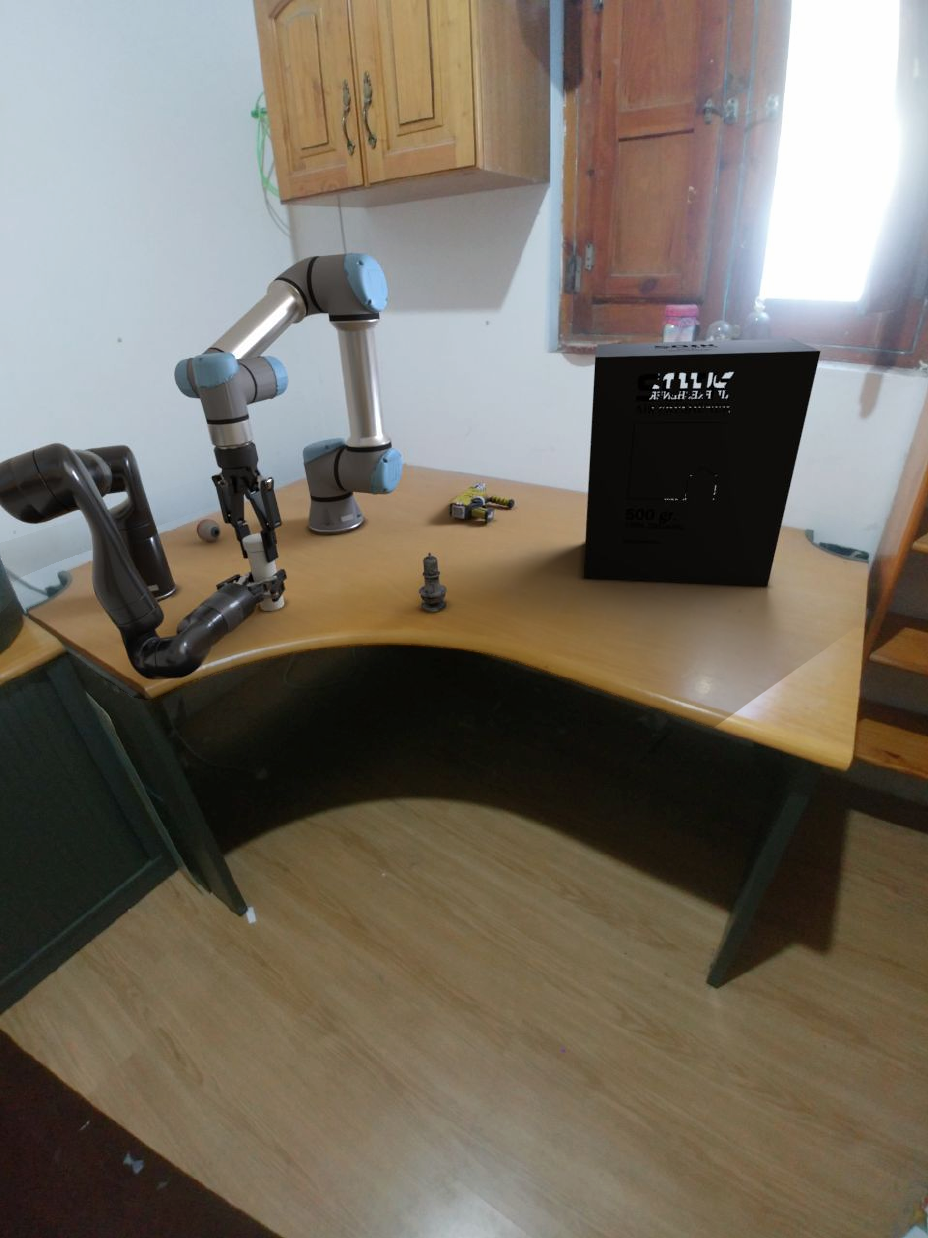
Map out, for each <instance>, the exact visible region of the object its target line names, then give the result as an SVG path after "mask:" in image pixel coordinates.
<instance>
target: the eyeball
mask: <svg viewBox="0 0 928 1238" xmlns="http://www.w3.org/2000/svg"><path fill="white" fill-rule="evenodd" d="M196 534H197V536H198V538H199V539H201V540H202V541H204V542H208V543H209V542H211V543H212V542H215V541H216V540H218V539H219V538H220V536H221V534H222V529H221V526H220V524H219V523H218V522H217V521H216V520H214V519H211V518H206V519H203V520H200V521H199V522H198V524H197V526H196Z"/></svg>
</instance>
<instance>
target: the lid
mask: <svg viewBox="0 0 928 1238" xmlns="http://www.w3.org/2000/svg"><path fill="white" fill-rule="evenodd" d="M250 534H251V535H248V536H246V537H245V538H243V540H242V541H243V546H244V550H246V551H248V552H258V551H263V550H264V547H263V543H262V539H261V534H260V532H256V533H250Z"/></svg>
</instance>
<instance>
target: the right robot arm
mask: <svg viewBox="0 0 928 1238" xmlns="http://www.w3.org/2000/svg"><path fill="white" fill-rule="evenodd" d="M377 261H378V260H376V258H374V257H373V256H372V255H370V254H368V253H363V252H361V253H359V252H349V253H348V252H347V253H340V254H338V253H337V254H327V255H313V256H308V257H305V258H303V259H301V260H299V261H297V262H296V263H293V265H291V266H290V267H288V268H287V269H285V270H284V271H283V272H282V273H280V274H279V275H277V276H276V277H275V278H274V279H273V281H271V282H270V283H269V284H268V286H267V288H266V294H265V295H264V296H263V297H261V299H260V300H258V301H257V302H256V303H255V304H254V305H253V306H252V307H251V308H250V309H249V310H247V312H246V313H244V315H242V317H240V318H239V319H238V320H237V321H236V322H235V323H234V324H233V325H232V326H230V327H229V328H228V329H227V330H226V331H225V332H224V333H223V334H222V335H221V336H220V337H219V338H218V339H217V340H215V341H214V343H212V344H211V345H210V346H209V347H208V348H207V349H206V350H205V351H203V353H200V354H199V355H198V354H197V355H196V356H194V357H188V358H183V359H181V360H179V361H178V362H177V364H176V365H175V367H174V374H173V376H174V382H175V384H176V386H177V388H178V390H179V391H180V393H181V394H183V395H184V396H185V397H187V398H190V399H199V400H200V403H201V407H202V411H203V414H204V418H205V421H206V422H205V423H206V426H207V430H208V434H209V439H210V443H211V445H212V446H214V448H213V454H214V458H215V461H216V465H217V467H218V468H219V469H221V472H219V473H216V474H214V475H211V481H212V482H213V486H214V487H215V489H216V494H217V499H218V502H219V507H220V510H221V515H222V519H223V523H225V524H226V525H228V524H229V525H231V527H232V528H233V529H234V532H235V537H236V540H237V542H239V546H240V549H241V554H242V557H243V559H244V560H245V559H246V560H248V555H247V551H246V550H244V546H243V541H242V540H243V538H245V537H246V536H248V535H251V534H252V533H251V529H250V526H249V525H250V524H247V521H248V520H246V519H245V498H246V500H248V501H249V503H250V505H251V507H252V509H253V511H254V514H255V516H256V518H257V520H258V522H259V524H260V527H261V529H262V530H260V532H259V533H260V534H261V539H262V543H263V547H264V551H265V556H266V560H267V562H269V563H270V562H272V561H276V560H277V559H278V558H279V553H278V549H277V544H278V539H277V538H278V537H277V533H276V529H277V528H279V527H281V526H282V525H283V522H282V518H281V514H280V513H281V512H280V509H279V504H278V501H277V497H276V492H275V479H274V478H273V477H272V476H269V477H266V476H263V475H262V473H261V471H260V470H259V468H258V463H259V459H260V458H259V455H258V450H257V446H256V443H255V442H253V441H254V439H255V438H254V433H253V429H252V424H251V420H250V415H249V408H248V406H250V405H251V404H256V403H259V402H262V401H266V400H273V399H275V398H277V397H279V396H281V395H283V394H284V393H285V392H286V391H287V389H288V385H289V375H288V371H287V369H286V367H285V366H284V364H283V362H282V361H281V360H279V359H278V358H277V357H275V356H270V355H263V353H264V352H265V351H267V349H268V348H270V347H271V345H272V344H273V343H274V342H276V341H277V339H278V338H279V337H281V335H283V334H284V332H285V331H286V330H287V329H288V328H289V327H290V326H291V325H293V324H294V325H296V324H299V323H301V322H303V320H304V319H305V318H307V317H309V316H313V315H319V314H324V315H325V314H328V322H329V324H330V325H331V326H332V327H333V328H334V329H335V330H336V332H337V339H338V348H339V356H340V364H341V372H342V378H343V386H344V387H343V388H344V394H345V395H344V396H345V403H346V404H345V405H346V411H347V419H348V426H349V434H350V435H349V437H348V438H347V439H345V438H341V437H340V438H339V437H337V438H330V439H329V438H328V439H323V440H320V441H317V442H313V443H309V444H308V445H306V446H305V447H304V448H303V450H302V457H303V458H302V460H303V467H304V472H305V477H306V482H307V486H308V492H309V498H310V507H309V513H308V528H309V529H308V530H310V531H311V532H312V533H314V534H317V535H323V536H324V535H325V536H327V535H329V536H331V535H339V534H340V535H341V534H345V533H350V532H353V531H355V530H357V529H359V528H361V527H362V526H363V525H364V523H365V519H364V514H363V512H362V510H361V508H360V505H359V504H358V501H357V500H356V498H355V495H354V493H360V494H369V495H370V494H371V495H374V496H377V495H389V494H391V493H392V492H393V491H395V490H396V488H397V487H398V485H399V483H400V481H401V478H402V473H403V466H404V465H403V463H404V461H403V456H402V454H401V452H400V451H399V450H398V449H396V448H393V445H392V438H391V437H390V436H389V435H388V434H386V432H385V423H384V415H383V414H384V413H383V403H382V394H381V383H380V382H381V381H380V373H379V363H378V354H377V352H378V351H377V343H376V333H375V328H376V327H377V325H378V324H379V322H380V321H381V318H380V317H381V316H380V313H381V312H382V311H384V310H385V308H386V306H387V304H388V302H387V301H388V295H389V294H388V292H389V291H388V284H387V280H386V277H385V274H384V272H383V269H382V267H381V266H380V264H379V263H378V262H377ZM262 355H263V356H262Z"/></svg>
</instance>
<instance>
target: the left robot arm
mask: <svg viewBox="0 0 928 1238" xmlns="http://www.w3.org/2000/svg"><path fill="white" fill-rule="evenodd" d="M118 493H126V495H127V497H126V498H125V499H124V500H122V501H121V502H120V503H118V504H116V505H114V506H112V507H110V508H109V509H108V506H107V505H106V503H105V500H104V498H105V497H106V495H112V494H118ZM0 508H2V509H3V510H4V511H5V512H6V513H8V515H10V516H11V517H13V518H14V519H15V520H17V521H20V522H22V523H24V524H25V523H26V524H30V525H38V524H43V523H48V522H50V521H52V520H54V519H58V518H60V517H62V516H65V515H67V514H71V513H73V512H76V511H80V512H81V514H82V515H83V517H84V519H85V521H86V523H87V526H88V528H89V531H90V535H91V546H92V564H91V581H92V588H93V591H94V595H95V597H96V599H97V601H98V602H99V604H100V606H101V607H102V609H103V610H104V612H105V613H106V614H107V616H108V617H109V618H110V620H111V621H112V623H113V624H114V625H115V627H116V628H117V629H118V631H119V633H120V637H121V640H122V641H121V642H122V644H123V647H124V649H125V653H126V655H127V658H128V660H129V663H130V664H131V666H132V668H133V669H134V671H135V672H137V673H138V674H139V676H141V677H143V678H144V679H147V680H151V681H160V680H170V679H171V680H172V679H182V678H185V677H188V676H191V675H192V674H193V673H195V672H196V671H197V670H198V669H199V668H201V666H202V665H203V663H204V661H205V660H206V658H207V657H208V655H209V653H210V652H211V650H212V648H213V647H215V645H216V644H217V643H219V642H220V641H221V640H222V639H223V638H225V637H226V636H227V635H229V634H231V633H232V632H233V631H234V630H236V629H237V628H238V627H239V626H240V625H241V624H242V623H244V622H245V621H246V620H247V619H248V618H249V617H250V616H252V615H253V614H254V612H255V610H256V608H257V605H258V604H260V603H259V602H262V601H263V600H264V599H270V598H272V602H277V601H278V600H279V599H280V597H281V595H282V596H283V594H284V592H285V591H286V585H285V582H284V581H286V580H287V579H288V576H287V572H286V569H285V568H280V569H279V570H277V572H276V573H275V574H274V575H273V576H272V577H270V578H268V579H264V578H263V579H260V580H258V581H256V582H254V579H253V575H252V571H251V570H250V572H249V573H244V574H242V575H241V574H240V573H239V574H238V573H237V574H234V575H233V576H230V577H229V578H226V579H225V580H223V581H221V582H219V583H217V584H216V585H215V588H216V591H214V593H212V594H211V595H209V596H208V597H207V598H205V599H204V600H203V601H202V602H201V603H200V604H199V605H198V606H197V607H196V608H195V609H193V610H192V611H191V612H190V613H188V614H187V615H185V617H183V618H182V619H181V620H180V622H178V624H177V626H176V630H175V633H176V634H175V635H171V636H164V637H161V636H160V635H159V634H158V632H157V630H156V629H158V628H159V627H160V626H161V625H162V624H163V622H164V620H165V613H164V610H163V609H162V606H161V605H160V604H159V602H160V601H163V600H165V599H168V598H169V597H171V596H173V595H174V594H176V592H177V584H176V583H175V581H174V580H175V579H174V578H173V574H172V572H171V568H170V565H169V562H168V558H167V556H166V553H165V550H164V547H163V543H162V541H161V538H160V534H159V532H158V531H159V530H158V529H157V526H156V522H155V519H154V516H153V514H152V510H151V506H150V503H149V501H148V497H147V494H146V491H145V488H144V484H143V479H142V475H141V473H140V468H139V465H138V461H137V459H136V456H135V454H134V452H133V450H132V449H131V448H130V447H129V446H128V445H126V444H115V445H107V446H100V447H92V448H85V449H81V448H80V449H79V448H78V449H77V448H75V449H73V448H72V449H71V448H70V447H69V446H67V445H66V444H64V443H60V442H54V443H50V444H47V445H43V446H40V447H38V448H35V449H32V450H30V451H26V452H24V453H21V454H18V455H15V456H12V457H9V458H7V459H5V460H2V461H1V462H0ZM270 582H272V585H273V586H271V587H270V585H269V584H270ZM262 584H263V586H262ZM263 587H264V589H263Z"/></svg>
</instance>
